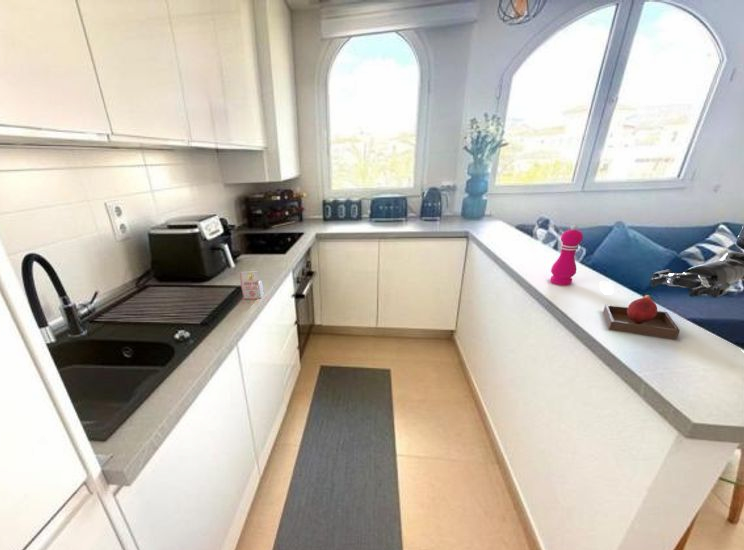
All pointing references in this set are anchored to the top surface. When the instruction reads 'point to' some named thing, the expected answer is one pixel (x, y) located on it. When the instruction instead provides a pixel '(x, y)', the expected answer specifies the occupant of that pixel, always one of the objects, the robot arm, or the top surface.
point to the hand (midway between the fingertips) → (671, 287)
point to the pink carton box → (251, 285)
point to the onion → (642, 310)
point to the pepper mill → (566, 257)
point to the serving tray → (654, 327)
